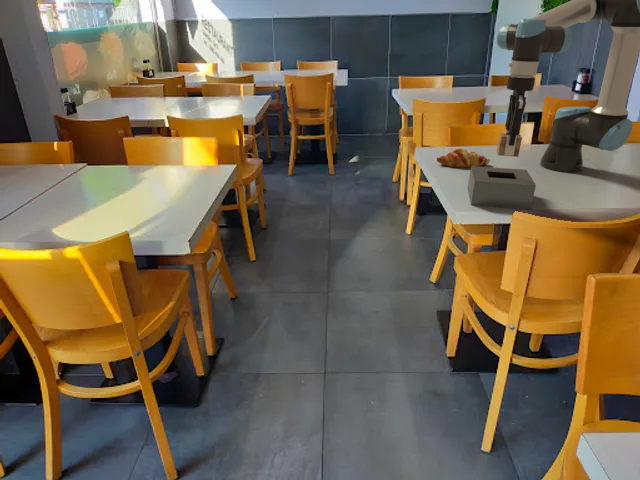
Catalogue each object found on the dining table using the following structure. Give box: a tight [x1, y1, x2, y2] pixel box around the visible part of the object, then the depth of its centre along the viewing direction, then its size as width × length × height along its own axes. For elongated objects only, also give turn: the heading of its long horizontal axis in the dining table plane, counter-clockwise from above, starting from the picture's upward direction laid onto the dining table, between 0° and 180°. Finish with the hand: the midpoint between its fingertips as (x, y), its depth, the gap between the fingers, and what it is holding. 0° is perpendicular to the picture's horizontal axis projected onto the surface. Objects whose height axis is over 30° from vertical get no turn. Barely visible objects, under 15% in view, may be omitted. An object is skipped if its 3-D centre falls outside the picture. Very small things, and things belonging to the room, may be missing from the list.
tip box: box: [467, 166, 537, 211], centre depth 158 cm, size 18×16×8 cm
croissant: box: [436, 148, 491, 169], centre depth 192 cm, size 21×10×8 cm, turn 93°
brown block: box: [496, 132, 523, 158], centre depth 152 cm, size 6×4×6 cm, turn 78°
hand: (507, 153), depth 153 cm, fingers closed on brown block, 4 cm apart
